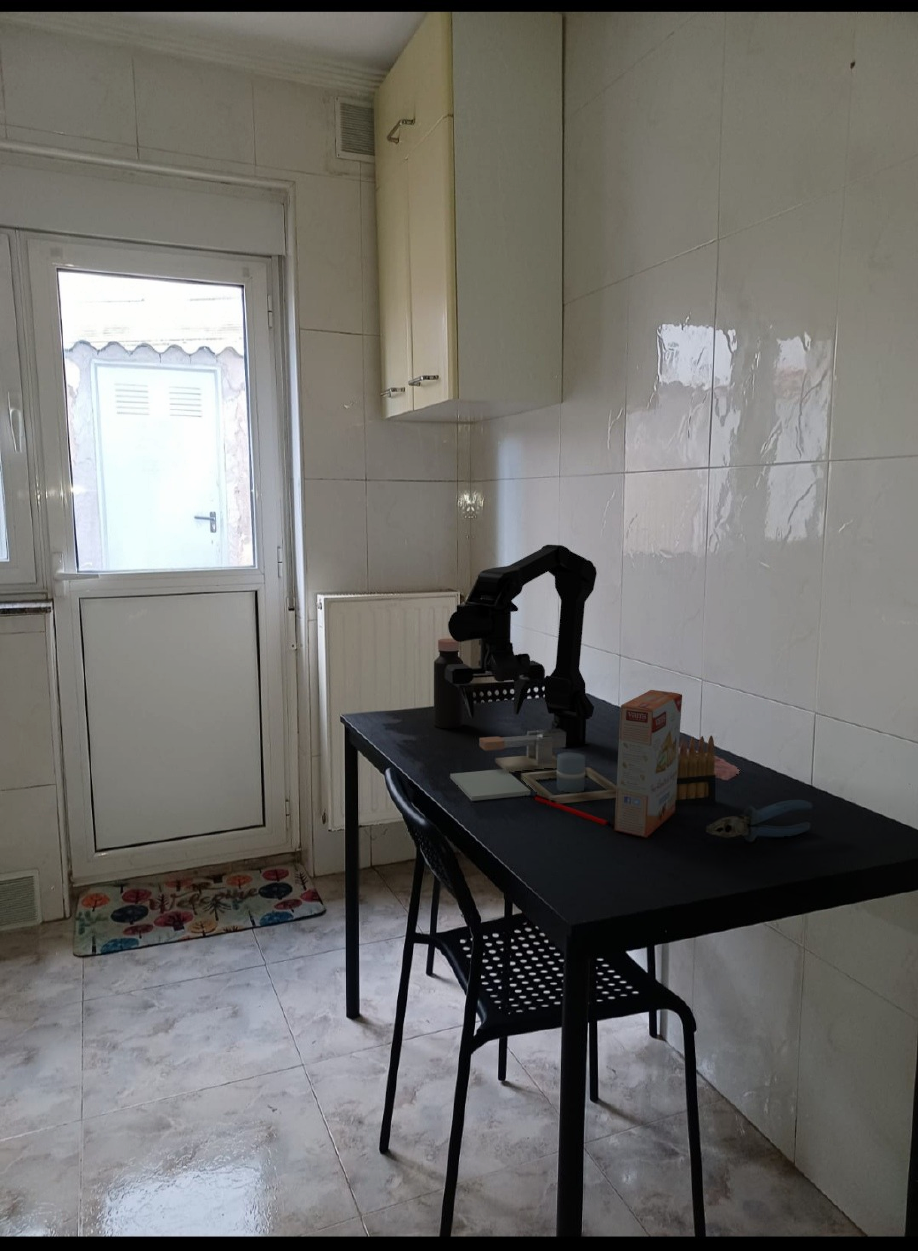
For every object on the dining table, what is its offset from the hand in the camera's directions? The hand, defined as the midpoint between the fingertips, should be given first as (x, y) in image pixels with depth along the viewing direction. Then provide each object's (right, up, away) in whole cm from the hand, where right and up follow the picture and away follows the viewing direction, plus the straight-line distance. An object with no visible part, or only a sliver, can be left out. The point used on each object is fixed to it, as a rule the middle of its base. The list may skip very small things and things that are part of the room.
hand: (494, 715), depth 171 cm
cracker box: (+24, -15, -26) cm, 38 cm away
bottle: (-9, -6, +33) cm, 35 cm away
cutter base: (+7, -10, +4) cm, 13 cm away
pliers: (+40, -16, -33) cm, 55 cm away
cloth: (+39, -11, +7) cm, 41 cm away
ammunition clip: (+33, -14, -17) cm, 39 cm away
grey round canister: (+14, -12, -10) cm, 21 cm away
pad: (-1, -12, -9) cm, 15 cm away
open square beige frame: (+14, -12, -10) cm, 21 cm away
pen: (+12, -15, -21) cm, 29 cm away
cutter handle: (+6, -7, +3) cm, 9 cm away
